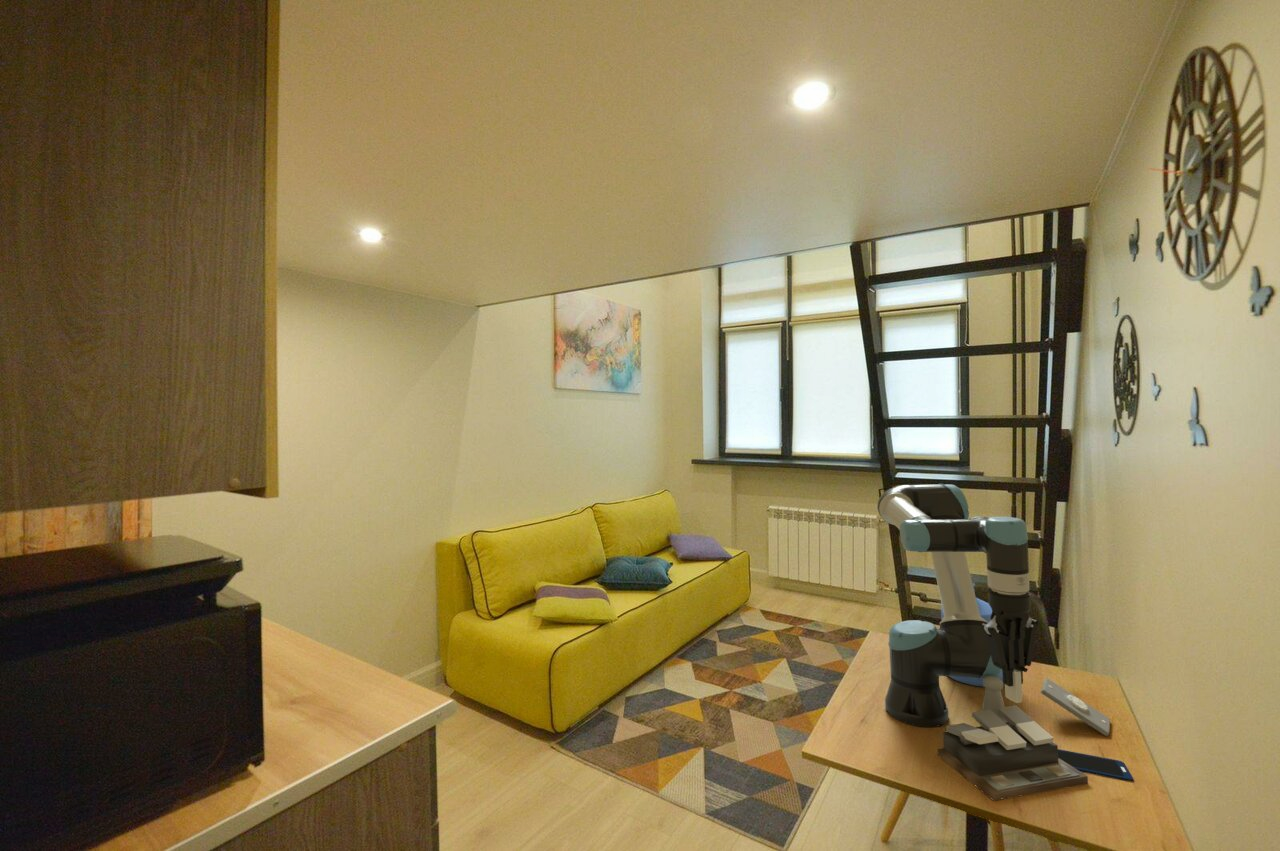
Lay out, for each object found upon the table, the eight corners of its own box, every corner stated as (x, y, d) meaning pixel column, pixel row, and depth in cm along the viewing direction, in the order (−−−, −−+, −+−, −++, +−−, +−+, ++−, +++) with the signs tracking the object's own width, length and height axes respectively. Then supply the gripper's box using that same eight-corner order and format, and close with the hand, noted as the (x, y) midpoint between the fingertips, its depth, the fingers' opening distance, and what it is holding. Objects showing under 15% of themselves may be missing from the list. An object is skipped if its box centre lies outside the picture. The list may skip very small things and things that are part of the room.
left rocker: (948, 738, 126) (945, 725, 126) (966, 735, 127) (963, 722, 127) (980, 751, 116) (978, 738, 117) (1000, 748, 117) (997, 735, 118)
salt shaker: (998, 738, 132) (995, 686, 132) (975, 726, 138) (973, 676, 137) (1014, 731, 135) (1011, 680, 134) (991, 720, 140) (989, 670, 140)
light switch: (1111, 731, 130) (1044, 686, 139) (1097, 748, 132) (1032, 703, 141) (1113, 716, 137) (1048, 674, 145) (1099, 733, 138) (1036, 691, 147)
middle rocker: (970, 721, 128) (972, 712, 127) (988, 718, 129) (990, 709, 128) (1005, 755, 118) (1007, 745, 118) (1024, 752, 119) (1026, 742, 119)
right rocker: (996, 717, 129) (998, 708, 129) (1013, 714, 130) (1015, 705, 130) (1033, 750, 120) (1035, 740, 119) (1051, 747, 121) (1053, 737, 120)
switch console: (937, 755, 127) (936, 732, 127) (1022, 741, 131) (1021, 719, 131) (993, 800, 111) (992, 774, 111) (1087, 783, 115) (1086, 758, 115)
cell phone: (1135, 783, 115) (1135, 780, 115) (1053, 767, 121) (1053, 764, 121) (1123, 764, 121) (1123, 761, 121) (1046, 749, 127) (1046, 746, 127)
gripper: (998, 598, 112) (1003, 713, 112) (1049, 591, 114) (1055, 703, 114) (968, 588, 119) (974, 695, 119) (1018, 582, 122) (1023, 686, 122)
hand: (1013, 699), depth 117 cm, fingers closed
